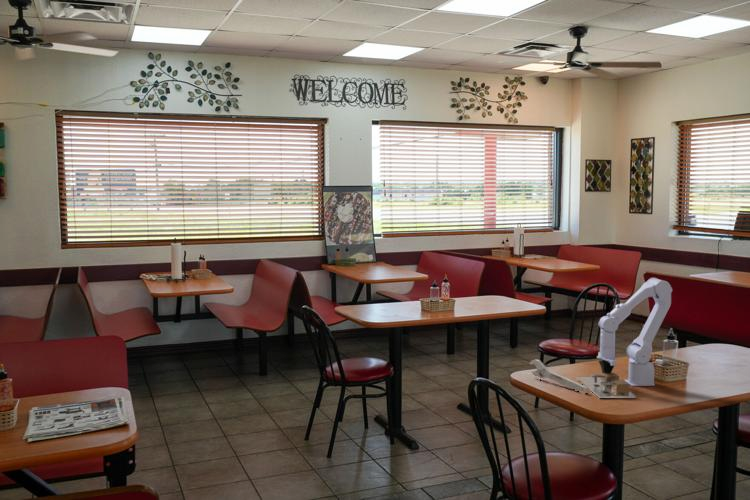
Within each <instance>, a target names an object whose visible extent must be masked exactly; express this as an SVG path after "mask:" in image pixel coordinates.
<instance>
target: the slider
mask: <svg viewBox="0 0 750 500" xmlns="http://www.w3.org/2000/svg"><path fill="white" fill-rule="evenodd" d="M590 377H592V378H593V377H594V383H597V377H602V382H612V380H620V375H618V374H617V373H615V372H611V373H602V372H601V374H591V375H590Z"/></svg>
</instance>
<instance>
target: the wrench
mask: <svg viewBox="0 0 750 500" xmlns="http://www.w3.org/2000/svg"><path fill="white" fill-rule="evenodd" d="M529 365H534V366H535V367H536V370H533V371H531V374H532V375H533V376H534V375H535V376H538V377H540V378H543V379H549V380H551V381H554V382H556V383H558V384H560V385H562V386H565V387H566V388H569V389H571V390H573V389H576V390H578V391H584V390H585V393H588V394H589V393H590V391H589V389H588V387H586V386H584V385H582V384H581V383H580V382H578V381H574V380H572V379H571V378H567V377H565V376H564V375H563V376H562V375H560V374H558V373H556V372H554V371H552V370H550V369H549V368H548V367H547V366H546V365H545V364H544V363H543V362H542V361H541V360H540V359H533V360H531V361H529ZM535 376H534V377H535Z"/></svg>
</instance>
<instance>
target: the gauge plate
mask: <svg viewBox="0 0 750 500" xmlns="http://www.w3.org/2000/svg"><path fill="white" fill-rule="evenodd" d="M577 379H578V380H580V381H581V382H582V383H583V384H584V385H585V386H586V387H588V388H589V389H590V390H591V391H592V392H593V393H594V394H596V395H597V396H598V397H599V398H636V395H635V394H634V393H632V392H631V391H630V384H629V383H627V382H626V381H625V379H619V380H612V382H602V377H597V383H594V377H593V378H592V377H591V376H579V377H578V376H576V380H577ZM578 380H577V381H578ZM592 392H591V393H592ZM593 393H592V394H593ZM594 394H593V395H594ZM599 398H598V399H599Z"/></svg>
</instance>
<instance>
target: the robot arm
mask: <svg viewBox="0 0 750 500" xmlns="http://www.w3.org/2000/svg"><path fill="white" fill-rule="evenodd" d="M672 292H673V287H672V285H671V284H670V283H669V282H668V281H666V280H663V279H659V278H657V277H650V278H649V279H648V280H647V281H645V282H644V283H643V284H642V285H641V287H640V288H639V289H637V290H636V292H635V293H634V294H633V295H632V296H631V297H630V298H629V299H627V301H626V302H625V303H619V304H616V305H614V308H613V309H612V310H611V311H610V312H607V313H606V315H604V316H602V317H600V319H599V321H598V323H597V325H598V327H599V329H600V339H599V351H598V352H597V353H598V354H597V356H596V359H600V360H598V363H599V366H600V368H601V374H602V373H613V370H614V367H616V366H617V360H616V356H615V355H616V353H615V351H616V331H617V330H618V328H619V325H620V324H621V323H622V322H623V321H625V319H627V317H629V316H630V315H631V313H632V309H634V308H635V307H636V306H638V304H640V303H641V302H642V301H644V300H645V299H646V298H653V300H654V305H653V307H652V310H651V312H650V314H649V315H648V317H647V320H646V321H645V324H643V325H644V326H643V327H642V329H641V332H640V333H639V335H638V337H637V338H635V339H633V341H632V343H631V344H629V345H628V346H627V347H626V355H627V356H628V358H629V359H628V370H627V371H628V376H627V377H628V378H627V379H624V380H625V381H626V382H627V383H629V386H632V387H644V386H645V387H651V386H654V387H655V366H654V363H652V362H650V360H651V357H652V356H651V354H652V351H653V346H652V343H653V341H654V339H655V337H656V336H657V334H658V331H659V330H660V328H661V325H662V323H663V322H664V319H665V318H666V315H667V313H668V311H669V310H670V307H671V304H672Z"/></svg>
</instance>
